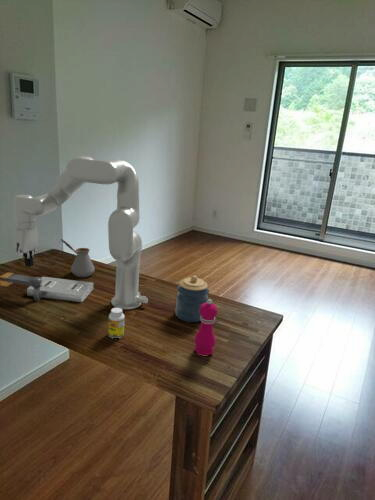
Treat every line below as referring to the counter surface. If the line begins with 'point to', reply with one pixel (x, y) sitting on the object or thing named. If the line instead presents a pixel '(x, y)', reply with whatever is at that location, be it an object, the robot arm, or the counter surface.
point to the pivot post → (37, 294)
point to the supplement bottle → (116, 323)
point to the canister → (191, 298)
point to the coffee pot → (81, 262)
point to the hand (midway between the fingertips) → (29, 265)
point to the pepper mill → (206, 329)
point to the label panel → (63, 289)
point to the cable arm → (20, 280)
